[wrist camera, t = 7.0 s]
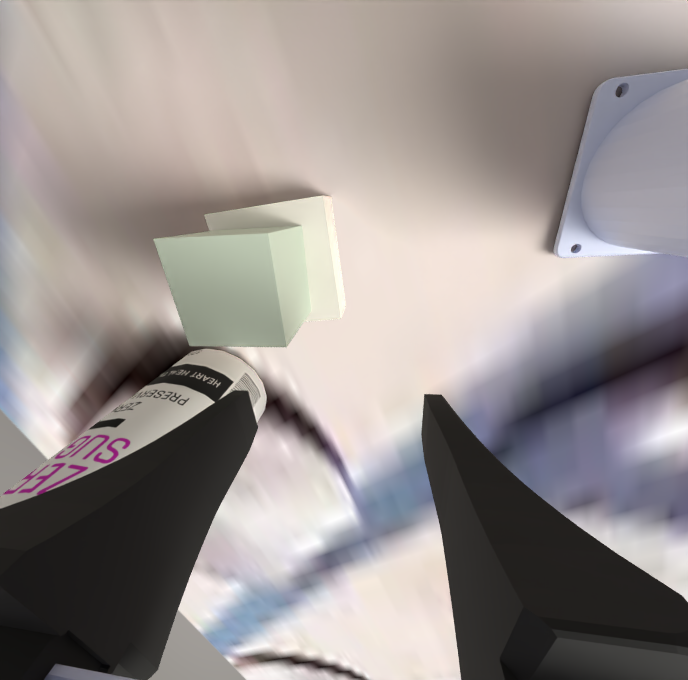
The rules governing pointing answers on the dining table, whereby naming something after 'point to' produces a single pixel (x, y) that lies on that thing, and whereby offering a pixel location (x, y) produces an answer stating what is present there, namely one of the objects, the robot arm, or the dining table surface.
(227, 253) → the green cube
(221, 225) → the cream box
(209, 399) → the supplement can
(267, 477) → the dining table surface
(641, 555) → the dining table surface
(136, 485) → the robot arm
